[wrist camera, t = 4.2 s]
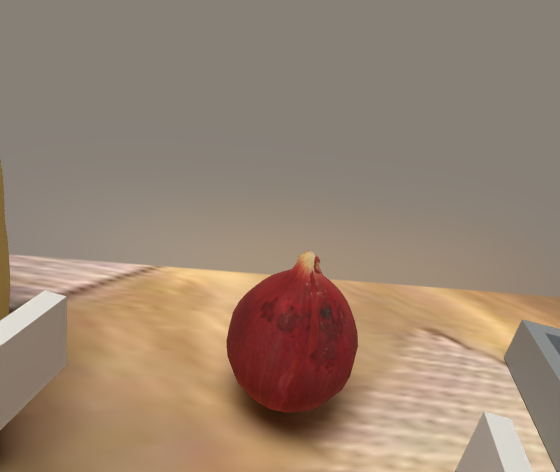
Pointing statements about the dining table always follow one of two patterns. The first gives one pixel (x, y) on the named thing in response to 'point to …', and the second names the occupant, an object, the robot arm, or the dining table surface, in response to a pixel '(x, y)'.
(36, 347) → the robot arm
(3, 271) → the cheese
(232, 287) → the dining table surface
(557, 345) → the tray
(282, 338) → the onion
